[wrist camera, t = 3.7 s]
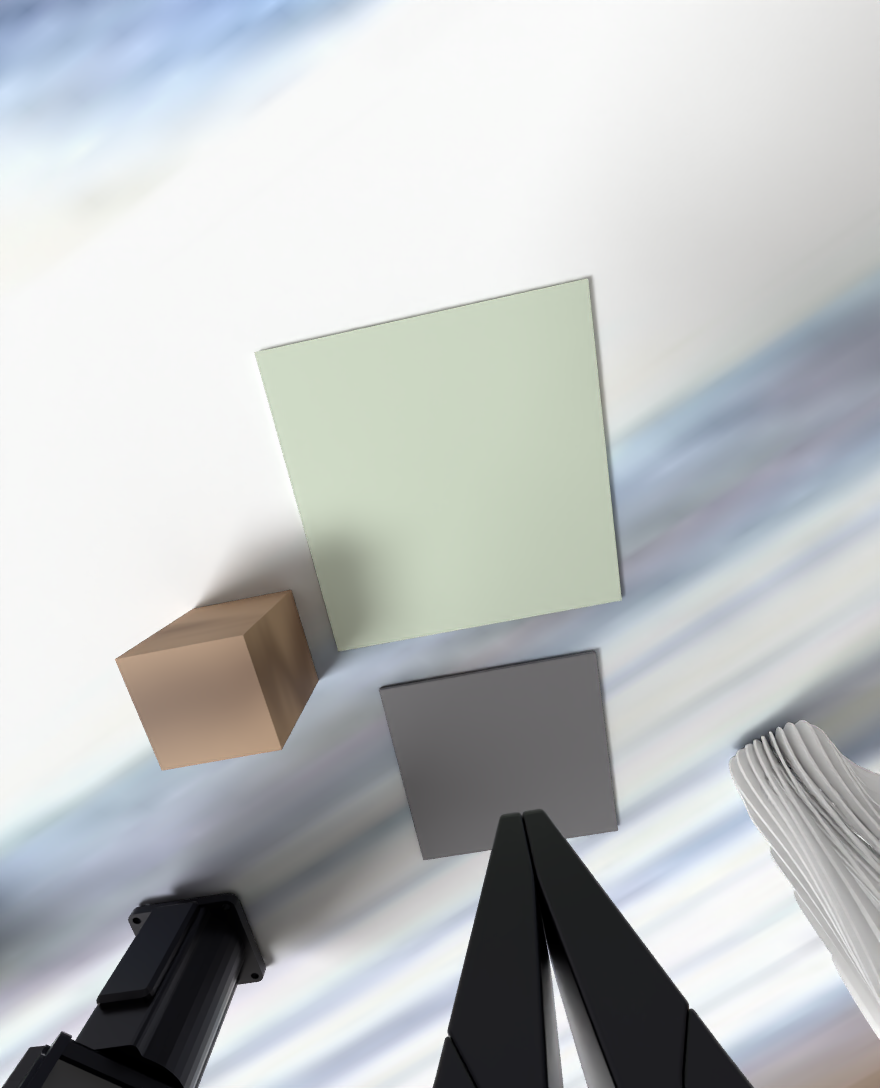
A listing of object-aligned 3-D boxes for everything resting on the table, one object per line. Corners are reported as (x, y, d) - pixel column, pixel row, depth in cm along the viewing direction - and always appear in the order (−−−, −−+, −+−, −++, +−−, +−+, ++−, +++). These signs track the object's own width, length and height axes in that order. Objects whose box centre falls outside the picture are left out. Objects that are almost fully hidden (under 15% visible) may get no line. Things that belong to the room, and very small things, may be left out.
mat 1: (620, 598, 20) (621, 600, 19) (339, 649, 20) (338, 651, 20) (586, 280, 17) (588, 278, 16) (256, 353, 17) (254, 352, 17)
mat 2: (616, 827, 23) (617, 830, 23) (423, 856, 23) (423, 860, 23) (594, 650, 20) (595, 652, 20) (379, 688, 21) (379, 690, 21)
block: (319, 679, 21) (281, 749, 16) (226, 696, 21) (161, 770, 16) (291, 589, 20) (243, 635, 15) (194, 607, 20) (114, 659, 15)
